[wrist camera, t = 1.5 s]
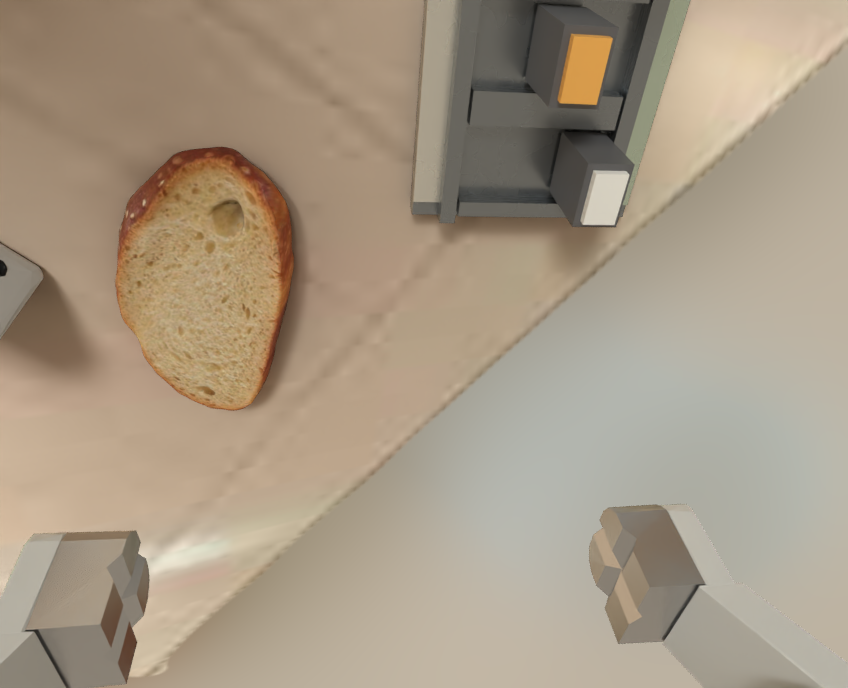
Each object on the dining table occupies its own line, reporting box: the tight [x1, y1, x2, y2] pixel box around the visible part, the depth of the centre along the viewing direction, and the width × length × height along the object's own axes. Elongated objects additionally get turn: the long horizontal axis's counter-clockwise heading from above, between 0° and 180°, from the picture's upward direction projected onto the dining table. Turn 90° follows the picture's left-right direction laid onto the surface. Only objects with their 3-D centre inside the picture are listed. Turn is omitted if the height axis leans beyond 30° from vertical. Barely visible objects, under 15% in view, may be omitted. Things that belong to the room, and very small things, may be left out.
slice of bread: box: [115, 147, 294, 410], centre depth 44 cm, size 18×18×4 cm
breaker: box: [549, 132, 635, 227], centre depth 38 cm, size 4×3×6 cm
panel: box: [410, 0, 690, 223], centre depth 36 cm, size 22×15×2 cm
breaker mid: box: [525, 4, 619, 110], centre depth 33 cm, size 4×3×6 cm
